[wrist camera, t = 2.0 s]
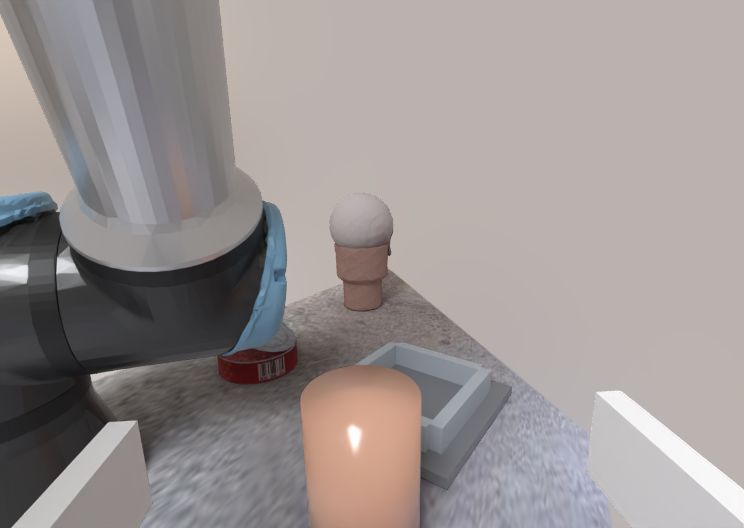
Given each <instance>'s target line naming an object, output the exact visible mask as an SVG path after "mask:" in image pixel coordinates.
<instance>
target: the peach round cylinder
mask: <svg viewBox="0 0 744 528" xmlns="http://www.w3.org/2000/svg"><path fill="white" fill-rule="evenodd" d="M300 404H301V418H302V431H303V445H304V459H305V473H306V487H307V500H308V514H309V528H420V466H421V392H420V389H419V387H418V386H417V384H416V383H415V382H414V381H413V380H412V379H411V378H410V377H408V376H407V375H405V374H403V373H401V372H399V371H397V370H394V369H391V368H387V367H383V366H376V365H352V366H345V367H341V368H337V369H333V370H331V371H328V372H326V373H323V374H321V375H320V376H318V377H316V378H315V379H313V380H312V381H311V382H310V383H309V384H308V385H307V386H306V387H305V389H304V390H303V392H302V395H301V399H300Z"/></svg>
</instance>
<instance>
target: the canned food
mask: <svg viewBox="0 0 744 528" xmlns="http://www.w3.org/2000/svg"><path fill="white" fill-rule="evenodd" d="M218 364H219V373H220V375H221V377H222V378H224V379H225V380H227V381H229V382H232V383H237V384H256V383H263V382H267V381H271V380H274V379H277V378H279V377H281V376H284V375H285V374H287V373H289V372H290V371H291V370H292V369H293V368H294V367H295V366H296V364H297V348H296V337H295V336H294V333H293V331H292V330H291V329H289V328H288V327H287V326H286V325H285V324H284V323H283V322H282V323H281V326H280V329H279V331H278V333H277V334H276V336H275V337H274V338H273V339H272V340H271V341H270V342H269V343H267V344H265V345H263V346H260V347H256V348H251V349H246V350H241V351H237V352H236V353H234V354H232V355H229V356H222V355H218Z"/></svg>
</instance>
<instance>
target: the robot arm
mask: <svg viewBox="0 0 744 528" xmlns="http://www.w3.org/2000/svg"><path fill="white" fill-rule="evenodd" d="M0 14H1V17H2V19H3V21H4V23H5V26H6V28H7V30H8V33H9V34H10V37H11V39H12V42H13V44H14V46H15V48H16V51H17V53H18V55H19V57H20V60H21V62H22V64H23V67H24V69H25V71H26V73H27V76H28V78H29V80H30V82H31V85H32V87H33V89H34V92H35V94H36V96H37V98H38V101H39V103H40V105H41V108H42V110H43V112H44V114H45V116H46V119H47V121H48V123H49V126H50V128H51V130H52V132H53V135H54V137H55V139H56V142H57V144H58V146H59V148H60V151H61V153H62V155H63V157H64V159H65V162H66V164H67V166H68V169H69V171H70V173H71V176H72V178H73V180H74V183H75V185H76V186H75V187H74V188H73V189H72V190H71V192H70V193H69V194H68V196H67V197H66V199H65V200H64V202H63V204H62V207H61V210H60V212H56V210H57V209H58V207H57V204H56V203H55V202H54V201H53V200H52V198H51V196H50V195H49V194H48V193H46V192H32V193H25V194H18V195H12V196H4V197H0V528H139V527H140V525H141V523H142V522H143V520H144V518H145V516H146V514H147V513H148V511H149V509H150V507H151V506H152V504H153V502H152V497H151V491H150V486H149V480H148V475H147V470H146V464H145V459H144V453H143V448H142V443H141V437H140V432H139V426H138V421H137V420H136V421H120V422H118V421H117V419H116V418H115V416H114V415H113V414H112V412H111V411H110V410H109V408H108V407H107V406H106V404H105V403H104V402H103V400H102V399H101V398H100V396H99V395H98V394H97V392H96V391H95V390H94V388H93V385H92V381H91V377H90V374H97V373H101V372H107V371H113V370H121V369H127V368H134V367H140V366H147V365H155V364H162V363H169V362H176V361H183V360H190V359H197V358H204V357H211V356H218V355H222V356H229V355H232V354H234V353H236V352H237V351H241V350H246V349H251V348H256V347H260V346H263V345H265V344H267V343H269V342H270V341H271V340H272V339H273V338H274V337H275V336H276V334H277V333H278V331H279V329H280V326H281V323H282V319H283V314H284V308H285V300H286V286H287V285H286V284H287V282H286V278H285V272H286V265H287V250H286V237H285V230H284V224H283V220H282V216H281V213H280V211H279V209H278V207H277V206H275V205H274V204H272V203H269V202H265V201H262V197H261V192H260V191H259V189H258V187H257V185H256V184H255V182H254V181H253V180H252V179H251V178H250V177H249V176H248V175H247V174H246V173H245V172H243V171H242V170H240V169H239V168H237V167H236V166H235V156H234V147H233V138H232V127H231V117H230V107H229V98H228V87H227V78H226V68H225V58H224V48H223V38H222V27H221V17H220V7H219V0H0ZM586 472H587V473H588V474H589V475H590V477H591V478H592V479H593V480H594V482H595V483H596V484H597V485H598V487H599V488H600V489H601V490H602V492H603V493H604V494H605V495H606V497H607V498H608V499H609V500H610V502H611V503H612V504H613V505H614V507H615V508H616V509H617V510H618V512H619V513H620V514H621V515H622V516H623V518H624V519H625V520H626V522H627V523H628V524H629V525H630V527H631V528H744V490H743V489H742V488H741V487H740V486H739V485H737V484H736V483H735V482H734V481H732V480H731V479H730V478H729V477H727V476H726V475H725V474H724V473H722V472H721V471H720V470H719V469H717V468H716V467H715V466H714V465H712V464H711V463H710V462H709V461H708V460H706V459H705V458H704V457H703V456H701V455H700V454H699V453H697V452H696V451H695V450H694V449H692V448H691V447H690V446H689V445H688V444H686V443H685V442H684V441H683V440H681V439H680V438H679V437H678V436H676V435H675V434H674V433H673V432H671V431H670V430H669V429H668V428H666V427H665V426H664V425H663V424H661V423H660V422H659V421H658V420H656V419H655V418H654V417H653V416H652V415H650V414H649V413H648V412H647V411H645V410H644V409H643V408H642V407H640V406H639V405H638V404H637V403H635V402H634V401H633V400H632V399H630V398H629V397H628V396H627V395H625V394H624V393H623V392H622V391H605V392H596V394H595V403H594V411H593V419H592V427H591V436H590V444H589V452H588V460H587V468H586Z"/></svg>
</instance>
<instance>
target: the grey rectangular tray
mask: <svg viewBox="0 0 744 528" xmlns="http://www.w3.org/2000/svg"><path fill="white" fill-rule="evenodd" d="M355 365H376V366H383V367H387V368H391V369H394V370H397V371H399V372H401V373H403V374H405V375H407V376H408V377H410V378H411V379H412V380H413V381H414V382H415V383H416V384H417V386H418V387H419V389H420V392H421V466H420V477H422V478H424V479H426V480H428V481H430V482H432V483H434V484H436V485H438V486H440V487H442V488H444V489H446V490H447V489H448V488H449V486H450V485H451V483H452V482H453V480H454V479H455V477H456V476H457V474H458V473H459V471H460V470H461V468H462V467H463V465H464V464H465V463H466V461H467V460H468V458H469V457H470V455H471V454H472V452H473V451H474V449H475V448H476V446H477V445H478V443H479V442H480V440H481V439H482V437H483V436H484V434H485V433H486V431H487V430H488V428H489V427H490V425H491V424H492V422H493V421H494V419H495V418H496V416H497V415H498V414H499V412H500V411H501V409H502V408H503V406H504V405H505V403H506V402H507V400H508V399H509V397H510V396H511V390H512V387H511V386H508V385H505V384H502V383H498V382H495V381H492V380H491V371H492V370H489V369H485V368H483V365H481V364H478V363H474V362H471V361H467V360H464V359H460V358H457V357H453V356H450V355H446V354H443V353H439V352H436V351H432V350H429V349H425V348H422V347H418V346H415V345H411V344H408V343H404V342H400V343H395V342H392V341H390V342H388V343H387V344H385V345H384V346H382V347H381V348H379V349H378V350H376V351H375V352H373V353H372V354H370V355H369V356H367V357H366V358H364V359H363V360H361V361H359V362H358V363H356V364H355Z"/></svg>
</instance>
